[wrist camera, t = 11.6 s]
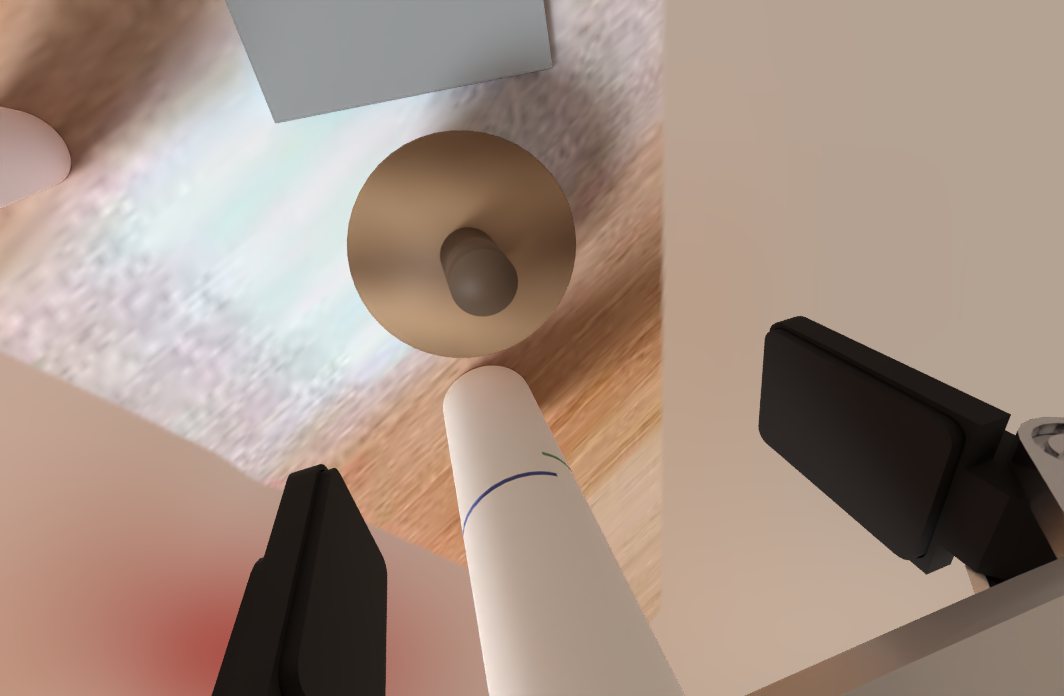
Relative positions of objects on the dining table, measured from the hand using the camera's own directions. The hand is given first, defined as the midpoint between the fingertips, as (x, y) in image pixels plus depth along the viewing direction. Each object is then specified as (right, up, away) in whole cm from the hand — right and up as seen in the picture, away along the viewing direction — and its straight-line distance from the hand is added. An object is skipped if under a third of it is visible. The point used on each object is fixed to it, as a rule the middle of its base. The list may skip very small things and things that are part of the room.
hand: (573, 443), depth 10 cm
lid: (-4, +7, +15) cm, 18 cm away
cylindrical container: (-4, -3, +27) cm, 28 cm away
